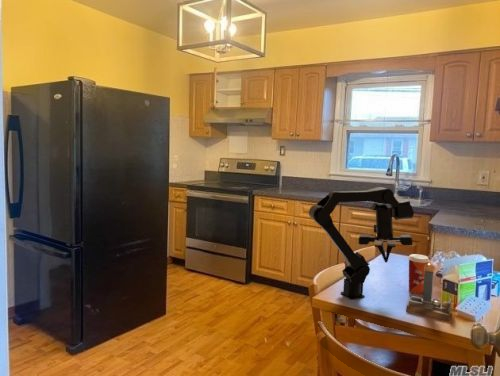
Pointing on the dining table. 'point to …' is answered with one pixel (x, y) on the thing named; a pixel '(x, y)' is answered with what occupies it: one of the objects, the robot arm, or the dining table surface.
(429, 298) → the press handle
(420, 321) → the dining table surface
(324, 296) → the dining table surface
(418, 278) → the paper cup
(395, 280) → the dining table surface
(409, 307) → the press bench
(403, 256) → the dining table surface
